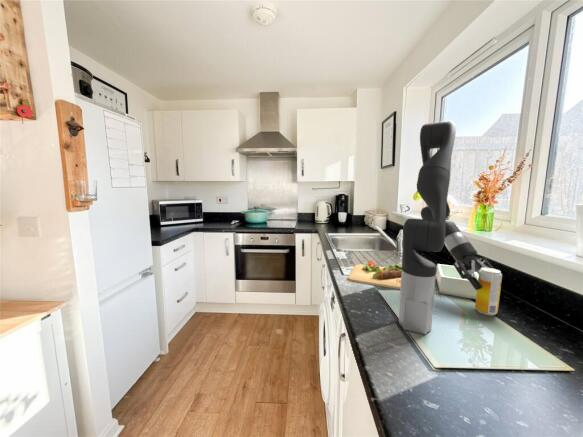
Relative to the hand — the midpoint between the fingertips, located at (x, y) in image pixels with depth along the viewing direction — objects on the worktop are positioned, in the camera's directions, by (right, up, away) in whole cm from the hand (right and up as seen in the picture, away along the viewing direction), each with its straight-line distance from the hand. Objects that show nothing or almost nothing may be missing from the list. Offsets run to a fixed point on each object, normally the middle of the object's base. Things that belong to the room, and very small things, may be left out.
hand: (488, 287), depth 83 cm
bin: (+3, -6, +21) cm, 22 cm away
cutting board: (-21, -5, +32) cm, 39 cm away
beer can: (0, -9, +1) cm, 9 cm away
